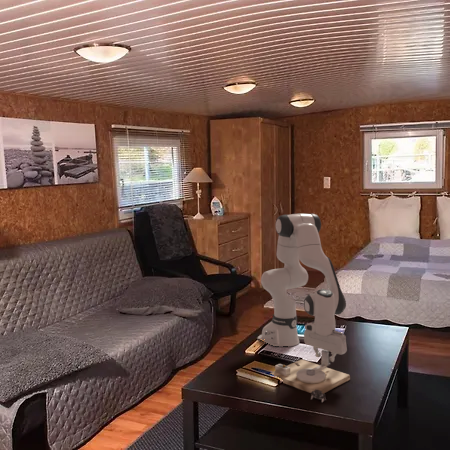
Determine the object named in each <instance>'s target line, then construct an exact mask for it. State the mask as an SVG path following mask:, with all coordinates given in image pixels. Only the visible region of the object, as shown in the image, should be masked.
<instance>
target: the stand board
mask: <svg viewBox="0 0 450 450" xmlns="http://www.w3.org/2000/svg"><path fill="white" fill-rule="evenodd" d="M320 365H321V364H316V363H315V362H312V361H308V360H305V359H301V358H300V359H298V360H297V361H294V362H292V363H290V364H288V365H285V364H282V363H278V364H276V365H275V366H274V367H275V368H274V371H272V372H270V373H269V375H270V374H272V375H274V376H277V377H279V378H281V379H282V380H283V384H286V385H288V386H291V387H293V388H295V389H298V390H301V391H304V392H307V393H308V394H309V393H310V394H311V392H312V391H315V389H316V390H320V391H322V393H323V394H325V393H327V392H329V391H331V390H333V389H334V388H336V387H338V386H341V385H343V384H344V383H346V382H348V381H350V380H351V375H350V374H349V373H345V372H342V371H339V370H335V369H333V368H329V367H327V368H325V369H323V370H321V371H323V372H324V373H325V380H324V381H323V382H320V383H313V384H312V383H304V382H301V381H299V380H298V379H297V377H296V373H297V371H299V370H301V369H306V368H313V369H314V368H316V367H318V366H320Z"/></svg>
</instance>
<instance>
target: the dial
mask: <svg viewBox="0 0 450 450" xmlns="http://www.w3.org/2000/svg"><path fill="white" fill-rule="evenodd" d="M329 352H330V351H327V350H323V349H321V352H320V353H321V357H320V358H321V361H320V363H321V364H319V365H320V366H318V367H316V368H314V369H313V368H306V369H301V370H299V371H297V373H296V377H297V379H298V380H299V381H301V382H304V383H312V384H313V383H320V382H323V381H324V380H325V373H324V372H323V371H321V370H323V369H325V368H328V366H330V365H331V362H330V361H329V357H330V356H329V354H330V353H329Z"/></svg>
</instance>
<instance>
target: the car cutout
mask: <svg viewBox="0 0 450 450" xmlns="http://www.w3.org/2000/svg"><path fill="white" fill-rule="evenodd" d="M313 399H314V400H319V401H321V403H323V402H325V401H327V399H326V394H325V393H324V394H323V393H322V391H320V390H316V389H315V391H312V392H311V393H310V400H313Z"/></svg>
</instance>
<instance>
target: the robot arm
mask: <svg viewBox="0 0 450 450" xmlns="http://www.w3.org/2000/svg"><path fill="white" fill-rule="evenodd" d="M321 228H322V222H321V218H320V216H318V214H315V213H300V212H299V213H292V214H282V215H280V216H278V217H277V218H276V221H275V232H276V234H278V236H277V237H278V239H277V246H276V254H275V255H276V258H277V260H278V261H280V262H281V263H283V264H284V266H283V267H281V268H274V269H269V270H267V271H264V272H263V273H262V275H261V277H260V283H261V286H262V288H263V289H264V290H265V291H267V293H269V294H270V296H271V298H272V300H273V311H274V314H272V315H270V319H272V320H271V321H270V322H268V323H267V324H266V325H265V326H264V327H263V328H262V331H261V334H259V336H257V340H258V339H262V340H264V339H265V340H264V341H265V342H266V343H265V342H264V343H265V344H267V343H268V344H267V345H269V344H270V345H269V346H271V345H273V346H279V347H283V346H288V347H293V346H297V345H299V344H300V339H299V335H298V328H297V324H298V316H297V302H296V300H295V298H293V296H290V295H288V292H287V290H291V289H298V288H301V287H303V286H306V285H307V283H308V281H309V274H308V271H307V270H306V269H305V267H303V266H302V265H301V263H302V264H303V265H304V266H306V267H308V268H312V269H314V270H317V271H319V272H321V273H322V274H323V275H324V277H325V280H326V283H327V286H328V289H329V290H328V289H324V288H322V289H319V290H318V289H317V291H315V293H310V294H308V295H306V296H305V297H304V301H303V308H304V311H305V312H306V313H307V314H308V315H310V316H314V321H312V322H310V323H309V322H308V323H306V324H305V325H304V329H305V330H304V333H303V342H304V343H305V344H304V345H307V346H310V347H313V351H314V353H315V358H321V352H320V350H327V351H329V352H331V353H330V354H331V356H329V362H332V363H334V362H335V357H336V356H337V355H341V356H342V355H344V354H346V353H347V351H348V349H347V346H348V345H347V340H346V339H347V337H346V335H345V334H344V333H343V331H342V332H341V331H338V330H336V319H335V315H341V314H342V313H344V311H345V310H346V307H347V301H346V298H345V296H344V293H343V291H342V288H341V285H340V283H339V280H338V276H337V273H336V271H335V268H334V265H333V264H334V263H333V262H332V260H331V258H330V257H328V256H327V255H326V254H325V253H324V250H323V247H322V244H321V238H320V237H321V236H320V231H321ZM300 262H301V263H300ZM273 346H272V347H273ZM319 349H320V350H319Z"/></svg>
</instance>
